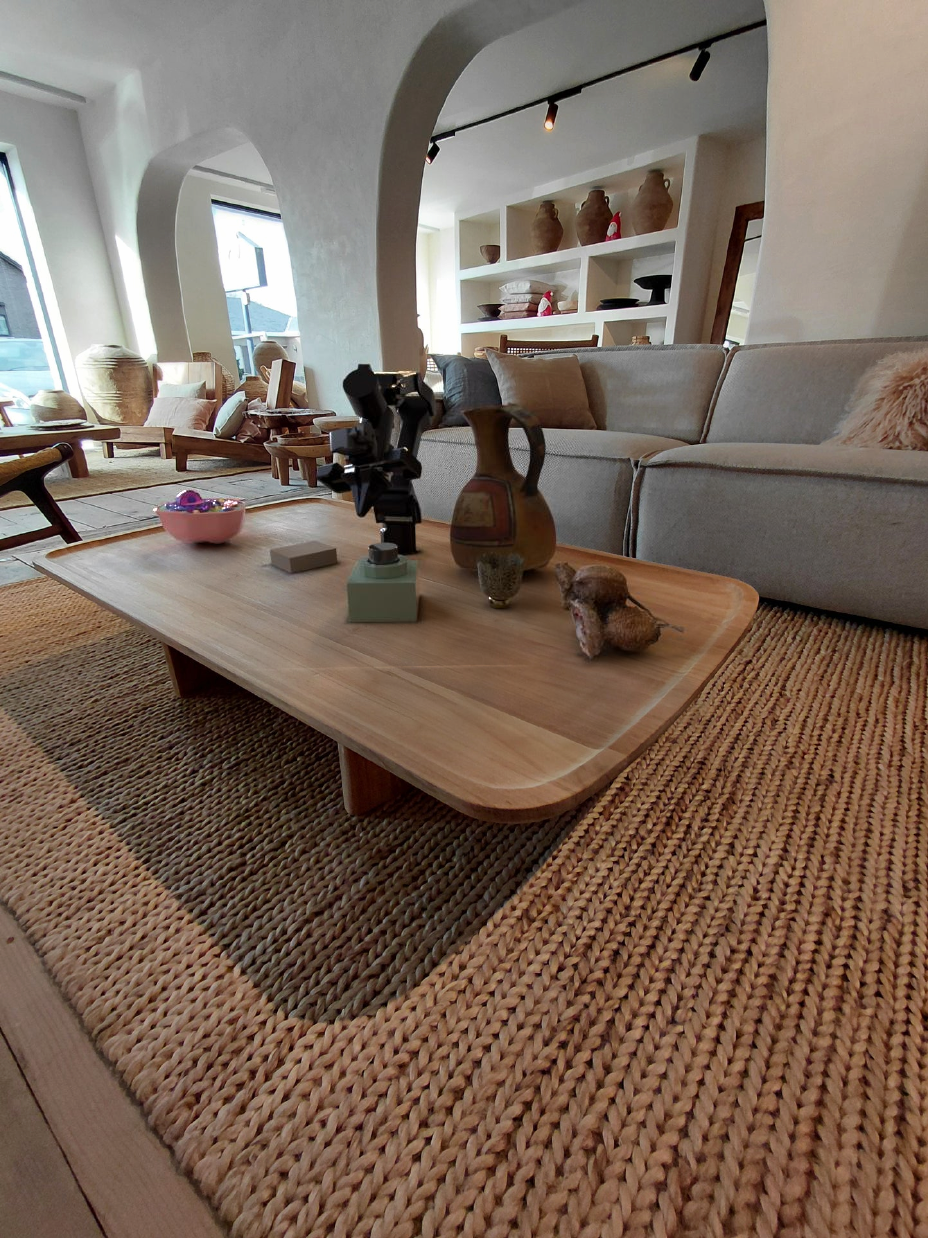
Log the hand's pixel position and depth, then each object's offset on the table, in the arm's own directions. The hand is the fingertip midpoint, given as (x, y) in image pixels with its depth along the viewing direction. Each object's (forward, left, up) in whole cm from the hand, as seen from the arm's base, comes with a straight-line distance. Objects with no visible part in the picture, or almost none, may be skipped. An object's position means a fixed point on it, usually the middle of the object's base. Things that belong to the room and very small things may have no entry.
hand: (360, 516), depth 96 cm
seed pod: (-24, +36, -13) cm, 45 cm away
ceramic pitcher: (-26, +1, -13) cm, 29 cm away
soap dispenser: (0, +12, -12) cm, 17 cm away
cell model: (+25, -42, -13) cm, 50 cm away
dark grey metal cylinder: (0, +12, -5) cm, 13 cm away
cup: (-17, +18, -13) cm, 28 cm away
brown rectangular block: (+8, -18, -12) cm, 23 cm away
